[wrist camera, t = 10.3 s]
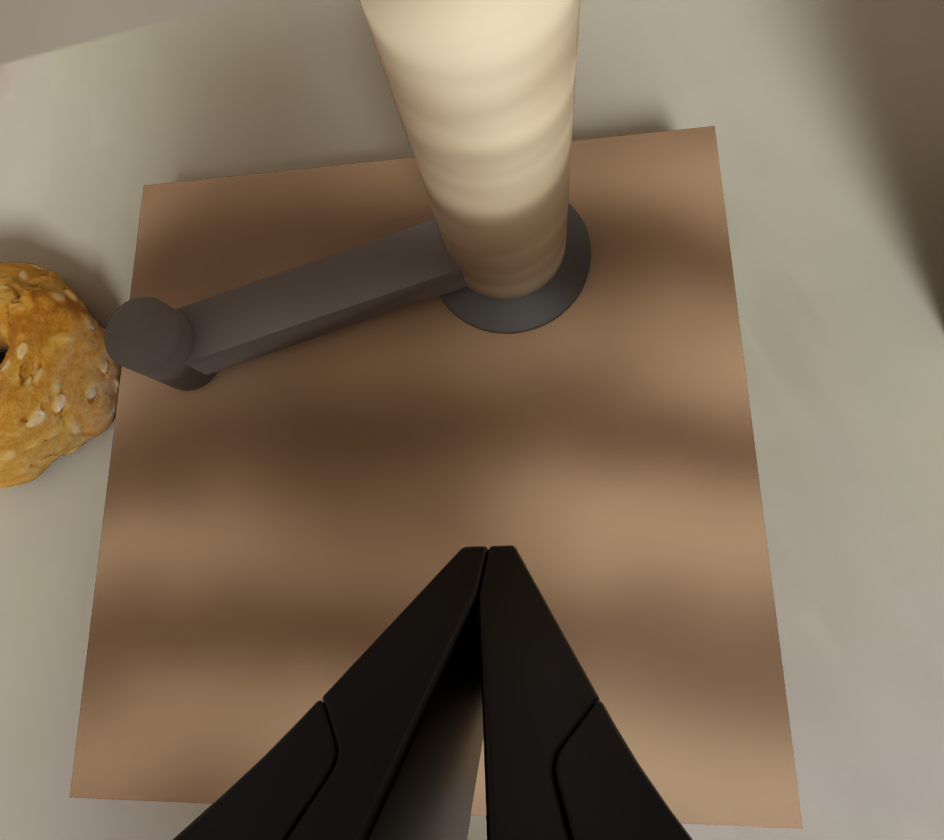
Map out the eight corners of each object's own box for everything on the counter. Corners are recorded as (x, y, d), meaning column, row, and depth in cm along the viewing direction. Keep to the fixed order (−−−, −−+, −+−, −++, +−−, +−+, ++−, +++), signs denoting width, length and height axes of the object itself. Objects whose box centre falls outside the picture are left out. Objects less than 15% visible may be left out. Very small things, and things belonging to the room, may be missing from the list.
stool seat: (762, 782, 18) (807, 833, 15) (136, 762, 21) (61, 801, 18) (693, 178, 23) (716, 119, 20) (189, 225, 26) (138, 180, 22)
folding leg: (581, 281, 19) (618, -8, 9) (169, 420, 20) (-213, 296, 10) (544, 183, 20) (539, -177, 10) (152, 320, 21) (-211, 115, 11)
